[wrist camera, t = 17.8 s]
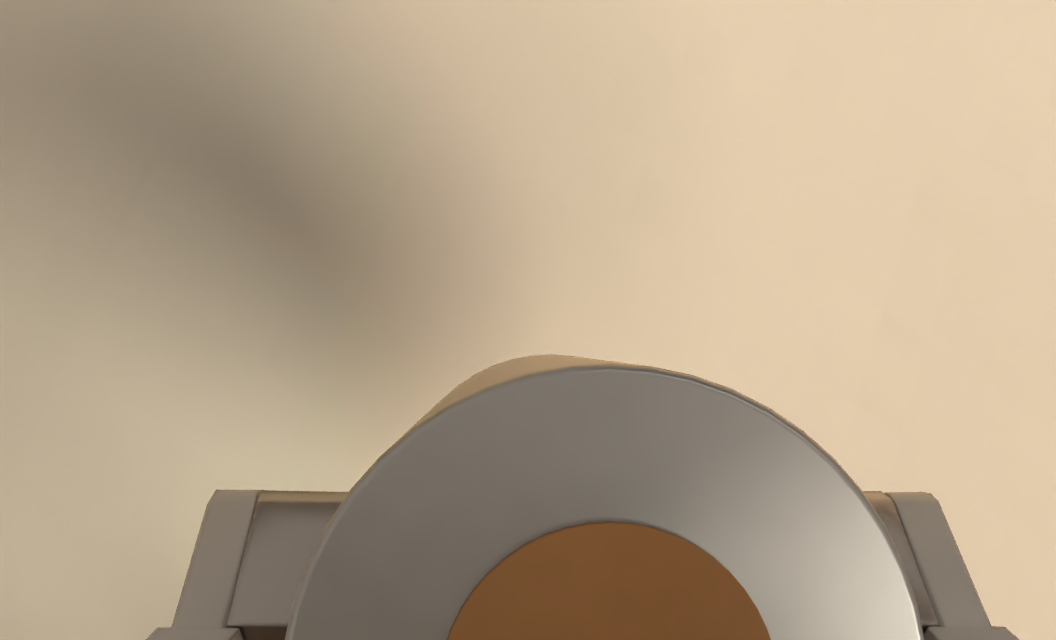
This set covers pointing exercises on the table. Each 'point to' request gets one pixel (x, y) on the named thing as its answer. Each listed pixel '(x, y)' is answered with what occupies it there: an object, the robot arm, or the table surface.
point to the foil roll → (603, 521)
